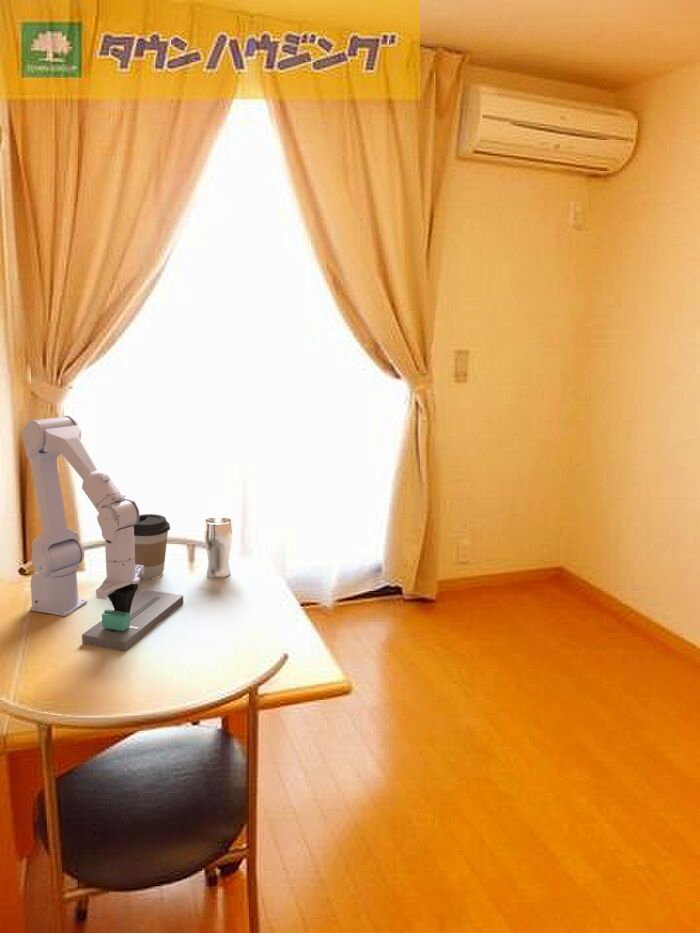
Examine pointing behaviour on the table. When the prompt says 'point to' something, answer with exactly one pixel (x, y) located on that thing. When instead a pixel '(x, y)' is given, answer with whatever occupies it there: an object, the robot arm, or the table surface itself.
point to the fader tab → (115, 620)
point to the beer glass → (218, 545)
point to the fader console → (135, 620)
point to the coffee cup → (151, 544)
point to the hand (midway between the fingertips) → (122, 617)
